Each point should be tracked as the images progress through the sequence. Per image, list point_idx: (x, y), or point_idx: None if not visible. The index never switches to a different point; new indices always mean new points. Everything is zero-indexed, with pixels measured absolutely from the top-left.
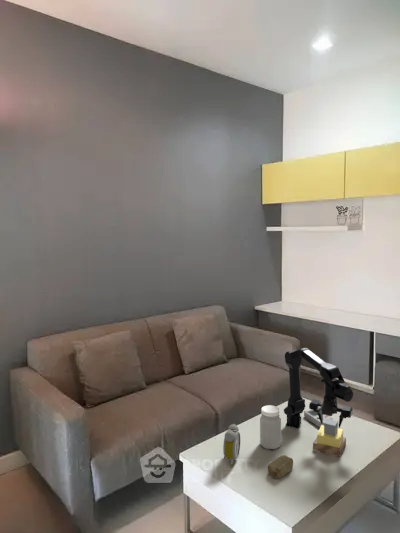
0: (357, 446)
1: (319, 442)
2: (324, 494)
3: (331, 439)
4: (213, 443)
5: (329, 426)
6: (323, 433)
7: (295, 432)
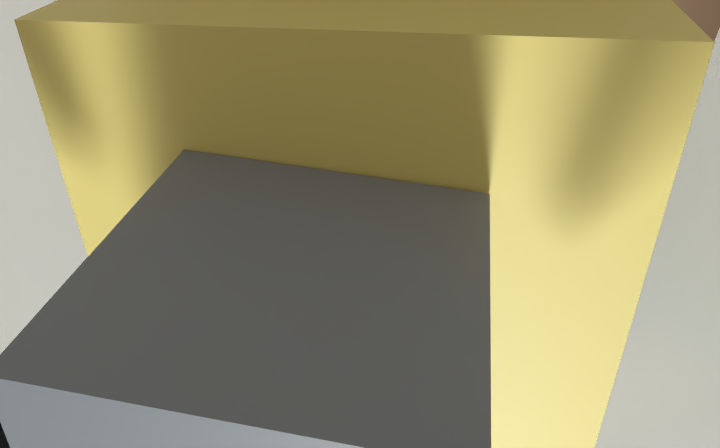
0: (71, 262)
1: None
2: None
3: (258, 14)
4: None
5: (261, 347)
6: (503, 188)
7: None
